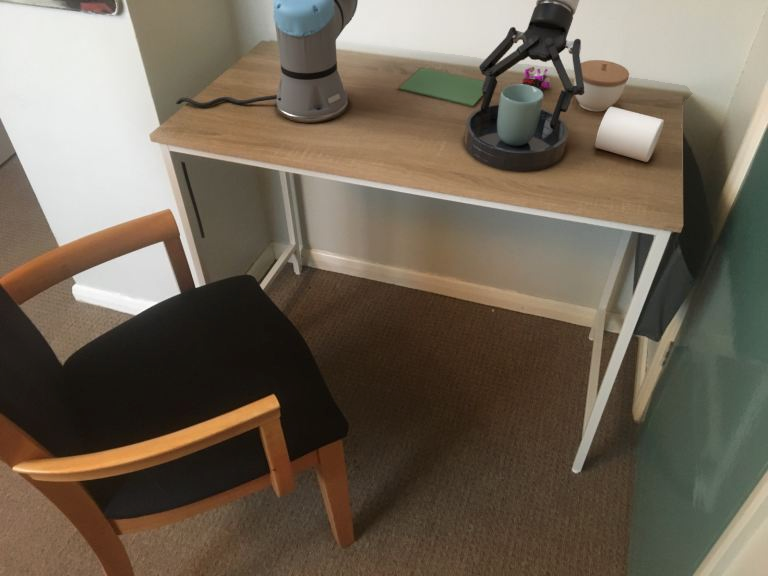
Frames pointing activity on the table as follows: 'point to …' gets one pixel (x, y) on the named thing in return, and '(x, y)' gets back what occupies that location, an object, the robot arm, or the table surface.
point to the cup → (518, 113)
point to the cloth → (445, 86)
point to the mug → (629, 133)
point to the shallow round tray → (500, 155)
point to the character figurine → (536, 78)
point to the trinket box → (601, 84)
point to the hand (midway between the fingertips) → (517, 118)
